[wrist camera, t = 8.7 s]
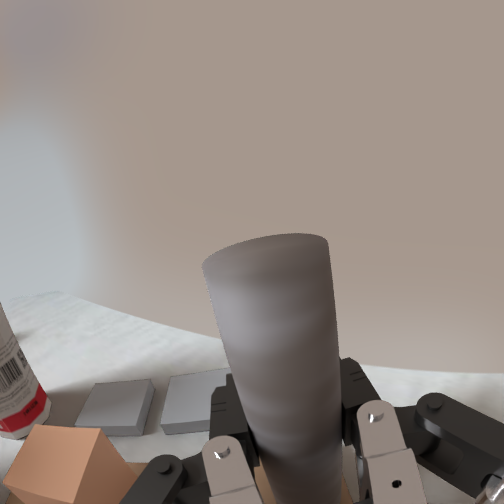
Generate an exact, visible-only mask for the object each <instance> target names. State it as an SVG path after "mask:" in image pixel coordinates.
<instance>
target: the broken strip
mask: <svg viewBox="0 0 504 504" xmlns="http://www.w3.org/2000/svg"><path fill="white" fill-rule="evenodd" d="M228 373H232V372H231V369H230V368H224V369H218V370H212V371H206V372H200V373H193V374H186V375H179V376H171V378H170V382H169V386H168V390H167V395H166V399H165V404H164V408H163V413H162V417H161V422H160V425H161V427H162V429H163V430H164V432H165V434H179V433H190V432H200V431H209V430H210V413H211V412H210V410H211V395H212V393H213V392H214V390H215V388H216V387H220V386H226V374H228ZM154 390H155V388H154V386H153V384H152V382H151V380H150V379H145V380H135V381H124V382H111V383H96V384H95V385H94V387H93V389H92V391H91V393H90V395H89V397H88V399H87V400H86V402H85V404H84V406H83V408H82V410H81V412H80V414H79V416H78V418H77V420H76V422H75V424H74V426H75V427H76V428H101V429H102V431H103V432H104V434H105V435H106V436H142V434H143V430H144V426H145V423H146V419H147V415H148V412H149V408H150V404H151V401H152V397H153V394H154Z"/></svg>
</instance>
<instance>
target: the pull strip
mask: <svg viewBox="0 0 504 504" xmlns="http://www.w3.org/2000/svg"><path fill="white" fill-rule="evenodd" d="M202 269H203V273H204V277H205V281H206V285H207V288H208V292H209V296H210V299H211V303H212V307H213V310H214V314H215V318H216V321H217V325H218V328H219V332H220V335H221V339H222V342H223V345H224V349H225V352H226V356H227V359H228V362H229V366H230V369H231V372H232V375H233V379H234V382H235V385H236V388H237V391H238V395H239V398H240V401H241V404H242V407H243V410H244V413H245V416H246V419H247V422H248V425H249V428H250V431H251V434H252V437H253V440H254V443H255V446H256V449H257V451H258V454H259V459H260V466H259V467H254V472H255V481H256V484H257V486H258V489H259V491H260V494H261V496H262V499H263V501H264V503H265V504H353V501H352V499H351V496H350V493H349V490H348V488H347V485H346V482H345V479H344V477H343V474H342V405H341V380H340V362H339V346H338V333H337V321H336V310H335V300H334V290H333V280H332V272H331V263H330V255H329V247H328V242H327V240H326V239H325V238H323V237H321V236H317V235H312V234H301V233H294V234H280V235H272V236H266V237H261V238H256V239H251V240H248V241H244V242H241V243H237V244H234V245H231V246H229V247H226V248H224V249H222V250H219V251H217V252H215V253H214V254H212V255H211V256H209V257H208V258H207V259H206V260H205V261H204V262H203V264H202ZM127 465H128V466H129V467H130V468H131V470H132V471H133V472H134V473H135V474H136V476H137V477H139V476H140V474H141V473H142V471H143V470H144V469H145V467H146V466H147V465H148V463H127ZM6 504H25V503H23V502H22V501H21V500H20V499H19V498H18V497H17V496H16V495H15V494H14V493H13V492H11V493H10V495H9V497H8V499H7V501H6Z"/></svg>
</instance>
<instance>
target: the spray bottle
mask: <svg viewBox="0 0 504 504" xmlns="http://www.w3.org/2000/svg"><path fill="white" fill-rule="evenodd" d="M51 404H52V403H51V401H50V400H49V398H48V397H47V395H46V393H45V392H44V390H43V388H42V387H41V385H40V383H39V382H38V380H37V378H36V376H35V375H34V373H33V371H32V369H31V367H30V365H29V364H28V362H27V360H26V358H25V356H24V354H23V352H22V350H21V348H20V346H19V344H18V342H17V340H16V338H15V336H14V333H13V331H12V329H11V327H10V325H9V322H8V320H7V318H6V315H5V313H4V311H3V308H2V305H1V303H0V435H1V436H2V437H4V438H9V439H15V440H17V439H20V438H22V437H25V436H27V435H29V433H30V432H31V430H32V428H33V427H34V425H35V424H39V425H42V424H43V423H44V422H45V421H46V420H47V419H48V417H49V413H50V408H51Z"/></svg>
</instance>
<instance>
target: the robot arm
mask: <svg viewBox="0 0 504 504" xmlns="http://www.w3.org/2000/svg"><path fill="white" fill-rule="evenodd" d="M339 362H340V380H341V405H342V439H343V441H344V444H345V446H348V445H352V444H353V446H354V448H355V460H356V468H357V476H358V484H359V494H360V501H359V502H356V503H353V504H427V500H426V496H425V493H424V489H423V485H422V481H421V477H420V474H419V470H418V467H417V463H419V464H420V465H422V466H423V467H425V468H426V469H428V470H429V471H431V472H432V473H434V474H436V475H437V476H439V477H440V478H442V479H443V480H445V481H447V482H448V483H450V484H452V485H453V486H455V487H456V488H458V489H460V490H461V491H463V492H465V493H466V494H468V495H470V496H471V497H473V498H475V499H476V501H475V504H504V424H503V423H501V422H499V421H497V420H495V419H493V418H490V417H488V416H486V415H484V414H482V413H480V412H478V411H476V410H474V409H472V408H470V407H468V406H466V405H464V404H462V403H460V402H458V401H456V400H454V399H452V398H450V397H448V396H446V395H444V394H441V393H429V394H426V395H424V396H422V397H421V398H420V399H419V400H418V402H417V405H414V406H407V407H393V406H392V405H391V404H390V403H388V402H386V401H383V400H381V398H380V397H379V395H378V394H377V392H376V390H375V389H374V387H373V386H372V384H371V382H370V381H369V379H368V378H367V376H366V374H365V373H364V372H363V370H362V368H361V367H360V365H359V363H358V362H356V361H354V360H353V359H351V358H350V357H349V358H345V359H342V360H341V359H340V357H339ZM210 412H211V413H210V433H209V441H208V442H207V443H206V444H205V445H204V447H203V449H202V452H200V453H199V454H197V455H194V456H192V457H189V458H186V459H183V460H180V459H179V458H177V457H176V456H173V455H160V456H157V457H155V458H154V459H152V460H151V461H150V462H149V463H148V465H147V466H146V467H145V469H144V470H143V471H142V473H141V474H140V476H139V477H138V478H137V480H136V481H135V482H134V484H133V485H132V486H131V488H130V489H129V491H128V492H127V493H126V495H125V496H124V497H123V499H122V500H121V501H120V503H119V504H265V503H264V501H263V499H262V496H261V494H260V491H259V489H258V486H257V484H256V481H255V472H254V467H259V466H260V459H259V454H258V451H257V449H256V446H255V443H254V440H253V437H252V434H251V431H250V428H249V425H248V422H247V419H246V416H245V413H244V410H243V407H242V404H241V401H240V398H239V395H238V391H237V388H236V385H235V382H234V379H233V375H232V373H228V374H226V386H220V387H216V388H215V390H214V392H213V393H212V395H211V410H210ZM416 462H417V463H416Z"/></svg>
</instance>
